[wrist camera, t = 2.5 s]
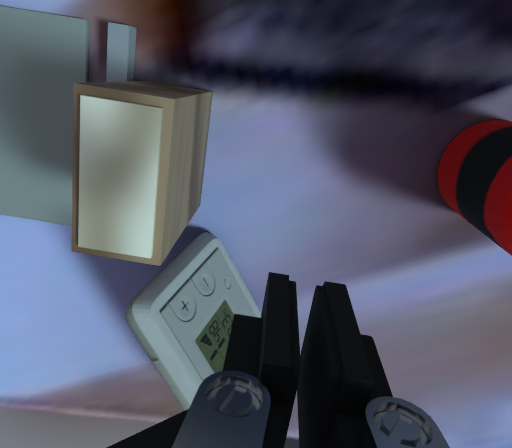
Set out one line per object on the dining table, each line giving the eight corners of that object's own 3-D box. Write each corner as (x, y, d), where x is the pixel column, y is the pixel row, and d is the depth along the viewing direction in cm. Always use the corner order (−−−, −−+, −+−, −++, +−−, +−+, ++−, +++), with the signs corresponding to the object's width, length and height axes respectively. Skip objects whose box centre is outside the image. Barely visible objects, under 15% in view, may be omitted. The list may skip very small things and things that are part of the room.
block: (212, 91, 32) (172, 99, 20) (200, 204, 35) (158, 268, 23) (147, 80, 32) (70, 82, 21) (139, 195, 35) (69, 253, 24)
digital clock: (294, 377, 40) (298, 478, 30) (203, 393, 41) (177, 495, 31) (250, 217, 35) (236, 273, 25) (148, 241, 36) (96, 303, 26)
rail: (136, 28, 31) (129, 25, 30) (125, 232, 36) (119, 239, 35) (116, 24, 31) (108, 22, 30) (108, 230, 36) (101, 236, 35)
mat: (88, 20, 31) (86, 19, 31) (84, 226, 36) (82, 227, 36) (-74, -6, 31) (-79, -7, 31) (-55, 203, 36) (-58, 204, 36)
